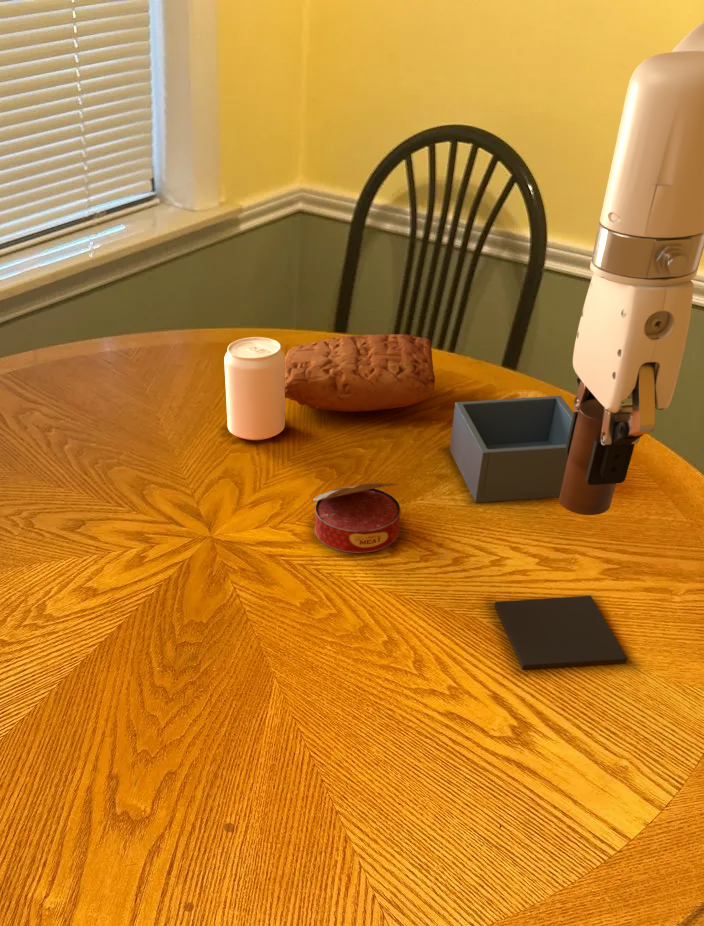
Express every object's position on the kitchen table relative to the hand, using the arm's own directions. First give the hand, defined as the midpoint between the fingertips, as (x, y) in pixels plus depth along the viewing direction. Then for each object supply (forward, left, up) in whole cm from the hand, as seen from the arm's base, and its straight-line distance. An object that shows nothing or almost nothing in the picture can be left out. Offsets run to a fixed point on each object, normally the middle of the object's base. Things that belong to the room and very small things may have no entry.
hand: (594, 465), depth 78 cm
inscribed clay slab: (+12, -54, -19) cm, 58 cm away
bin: (-5, -31, -18) cm, 36 cm away
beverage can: (+27, -47, -18) cm, 57 cm away
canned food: (+17, -20, -18) cm, 32 cm away
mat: (0, +1, -18) cm, 18 cm away
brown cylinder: (0, 0, -4) cm, 4 cm away
